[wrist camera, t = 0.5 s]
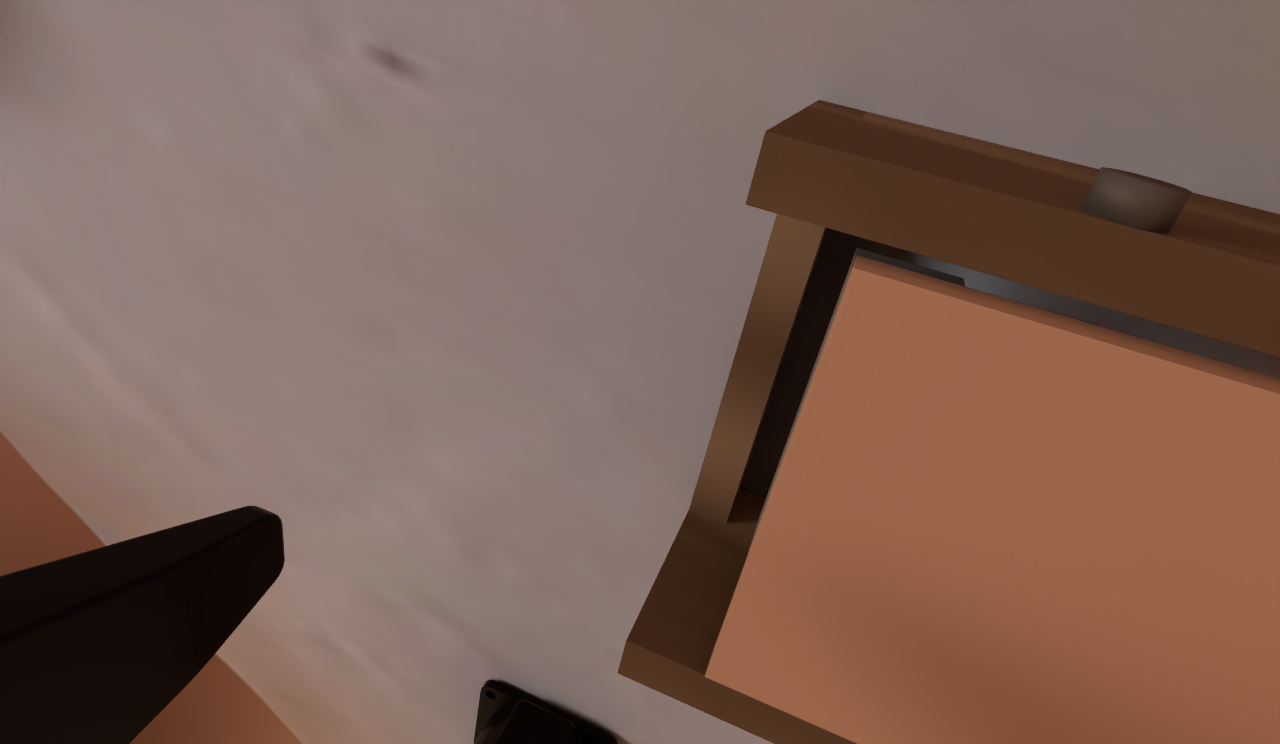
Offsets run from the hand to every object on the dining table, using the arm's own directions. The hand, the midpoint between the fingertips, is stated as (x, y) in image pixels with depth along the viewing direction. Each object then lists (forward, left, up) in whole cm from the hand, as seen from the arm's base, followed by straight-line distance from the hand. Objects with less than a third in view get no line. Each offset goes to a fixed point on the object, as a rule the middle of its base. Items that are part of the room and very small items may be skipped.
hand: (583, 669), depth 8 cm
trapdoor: (-1, -7, -11) cm, 13 cm away
